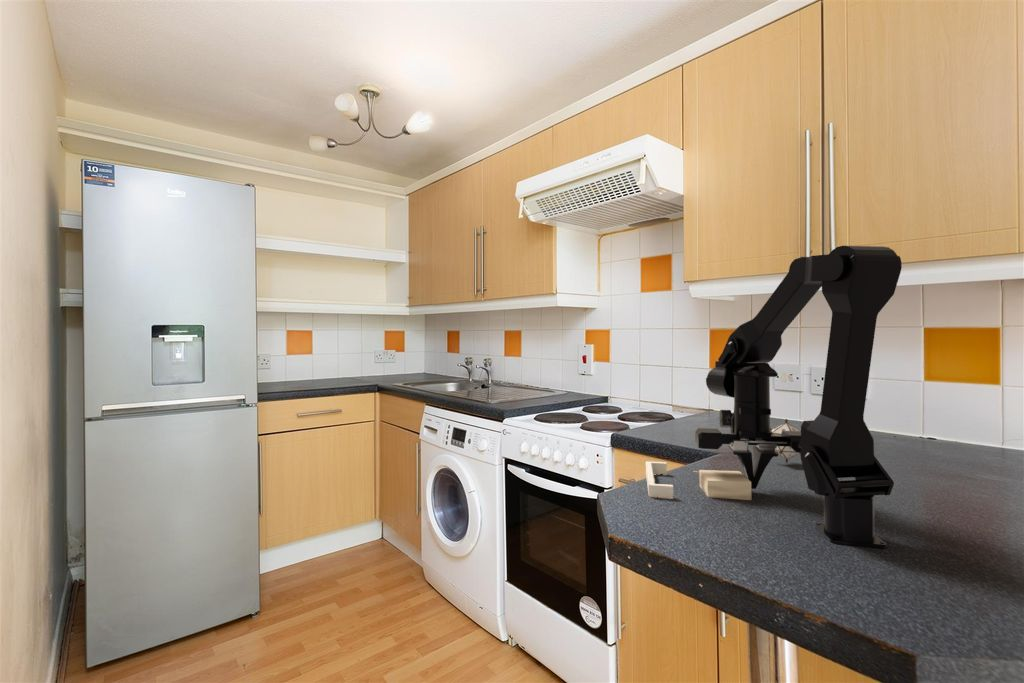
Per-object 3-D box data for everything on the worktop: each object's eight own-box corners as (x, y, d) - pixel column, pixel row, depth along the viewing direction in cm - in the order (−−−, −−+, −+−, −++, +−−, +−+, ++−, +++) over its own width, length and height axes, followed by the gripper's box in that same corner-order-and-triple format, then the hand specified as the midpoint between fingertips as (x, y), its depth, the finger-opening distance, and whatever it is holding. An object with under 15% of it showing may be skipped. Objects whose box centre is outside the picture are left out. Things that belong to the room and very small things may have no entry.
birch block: (751, 505, 82) (751, 482, 82) (707, 503, 84) (707, 480, 84) (739, 493, 89) (739, 471, 89) (699, 491, 90) (699, 469, 90)
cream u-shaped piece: (673, 504, 82) (673, 486, 82) (648, 502, 83) (648, 485, 83) (666, 477, 99) (666, 462, 99) (645, 476, 99) (645, 461, 99)
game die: (764, 465, 107) (763, 419, 107) (764, 457, 115) (764, 414, 115) (811, 469, 103) (811, 422, 103) (808, 461, 111) (808, 417, 111)
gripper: (795, 396, 93) (796, 478, 92) (691, 395, 97) (692, 473, 97) (816, 404, 82) (817, 497, 82) (698, 402, 86) (699, 490, 86)
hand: (752, 488), depth 87 cm, fingers closed
